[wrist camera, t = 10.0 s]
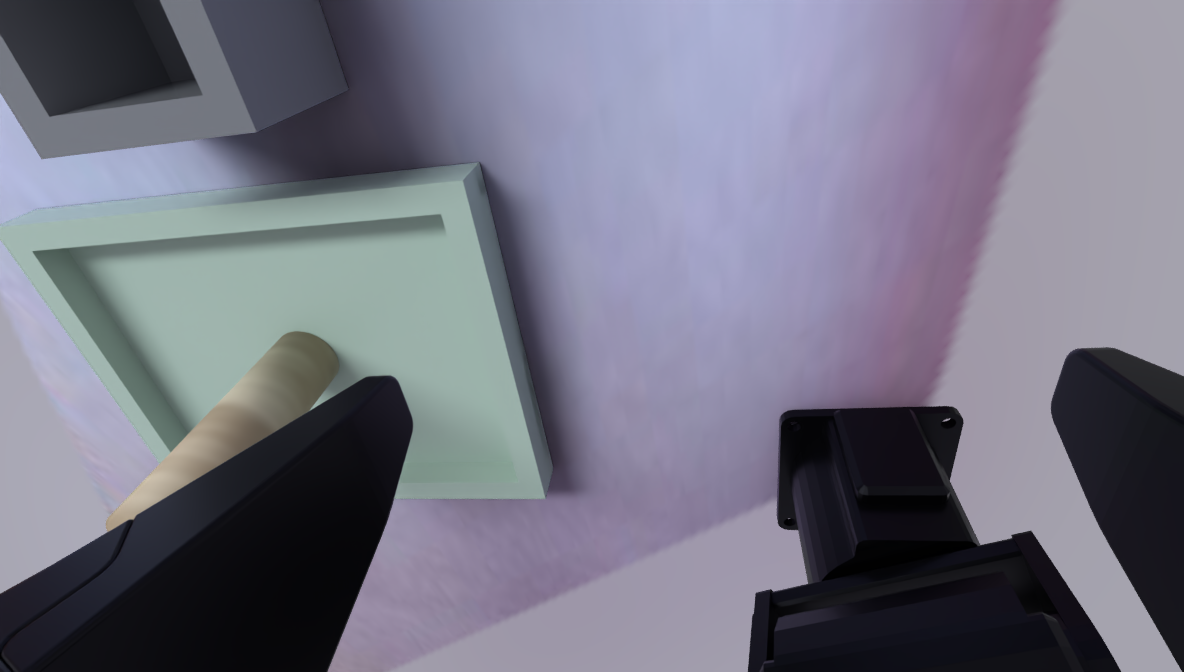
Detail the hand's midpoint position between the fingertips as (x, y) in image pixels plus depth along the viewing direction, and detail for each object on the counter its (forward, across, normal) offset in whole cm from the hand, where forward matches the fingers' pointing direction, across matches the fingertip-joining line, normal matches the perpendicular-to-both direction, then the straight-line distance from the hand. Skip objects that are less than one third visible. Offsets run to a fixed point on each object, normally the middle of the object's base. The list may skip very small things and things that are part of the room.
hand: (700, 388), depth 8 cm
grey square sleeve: (+12, +14, -6) cm, 20 cm away
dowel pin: (+12, +16, +7) cm, 21 cm away
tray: (+12, +16, +7) cm, 21 cm away
